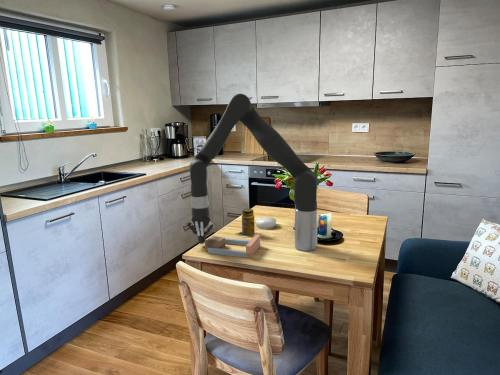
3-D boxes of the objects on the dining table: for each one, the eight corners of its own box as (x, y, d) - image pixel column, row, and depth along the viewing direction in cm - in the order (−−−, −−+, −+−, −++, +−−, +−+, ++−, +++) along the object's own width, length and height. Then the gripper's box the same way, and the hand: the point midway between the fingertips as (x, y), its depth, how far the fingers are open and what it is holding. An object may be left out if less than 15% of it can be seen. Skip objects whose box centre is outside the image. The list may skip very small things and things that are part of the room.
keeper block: (225, 246, 165) (224, 237, 164) (216, 251, 159) (216, 243, 158) (213, 244, 168) (213, 235, 167) (205, 249, 162) (204, 241, 161)
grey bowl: (278, 224, 194) (278, 217, 193) (273, 230, 185) (273, 223, 184) (259, 222, 197) (259, 216, 196) (254, 228, 188) (254, 222, 187)
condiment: (258, 234, 179) (257, 210, 176) (243, 238, 174) (242, 213, 172) (249, 230, 185) (249, 207, 182) (235, 233, 180) (234, 210, 178)
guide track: (260, 245, 164) (260, 234, 163) (250, 257, 151) (250, 246, 150) (220, 241, 170) (219, 231, 169) (207, 253, 157) (207, 242, 156)
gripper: (217, 204, 163) (219, 241, 166) (190, 202, 167) (192, 239, 170) (210, 208, 156) (212, 247, 160) (182, 206, 160) (184, 245, 163)
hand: (202, 243), depth 165 cm, fingers closed
